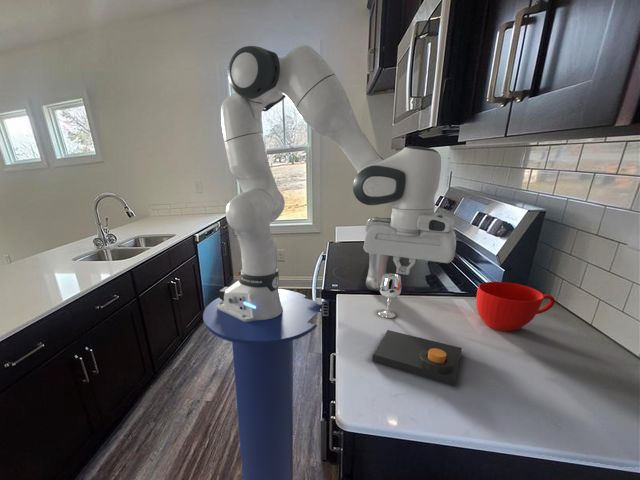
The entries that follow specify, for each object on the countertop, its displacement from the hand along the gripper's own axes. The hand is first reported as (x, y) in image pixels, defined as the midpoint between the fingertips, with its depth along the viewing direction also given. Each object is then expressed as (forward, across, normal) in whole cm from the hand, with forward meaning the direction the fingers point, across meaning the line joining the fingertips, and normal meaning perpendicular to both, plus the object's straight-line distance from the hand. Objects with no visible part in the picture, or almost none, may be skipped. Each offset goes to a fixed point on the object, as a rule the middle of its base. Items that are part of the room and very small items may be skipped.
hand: (402, 273), depth 81 cm
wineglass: (+16, -4, +6) cm, 17 cm away
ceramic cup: (+15, +24, +16) cm, 33 cm away
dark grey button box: (+15, +8, -13) cm, 21 cm away
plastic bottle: (+16, -12, +23) cm, 30 cm away
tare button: (+12, +12, -16) cm, 23 cm away
